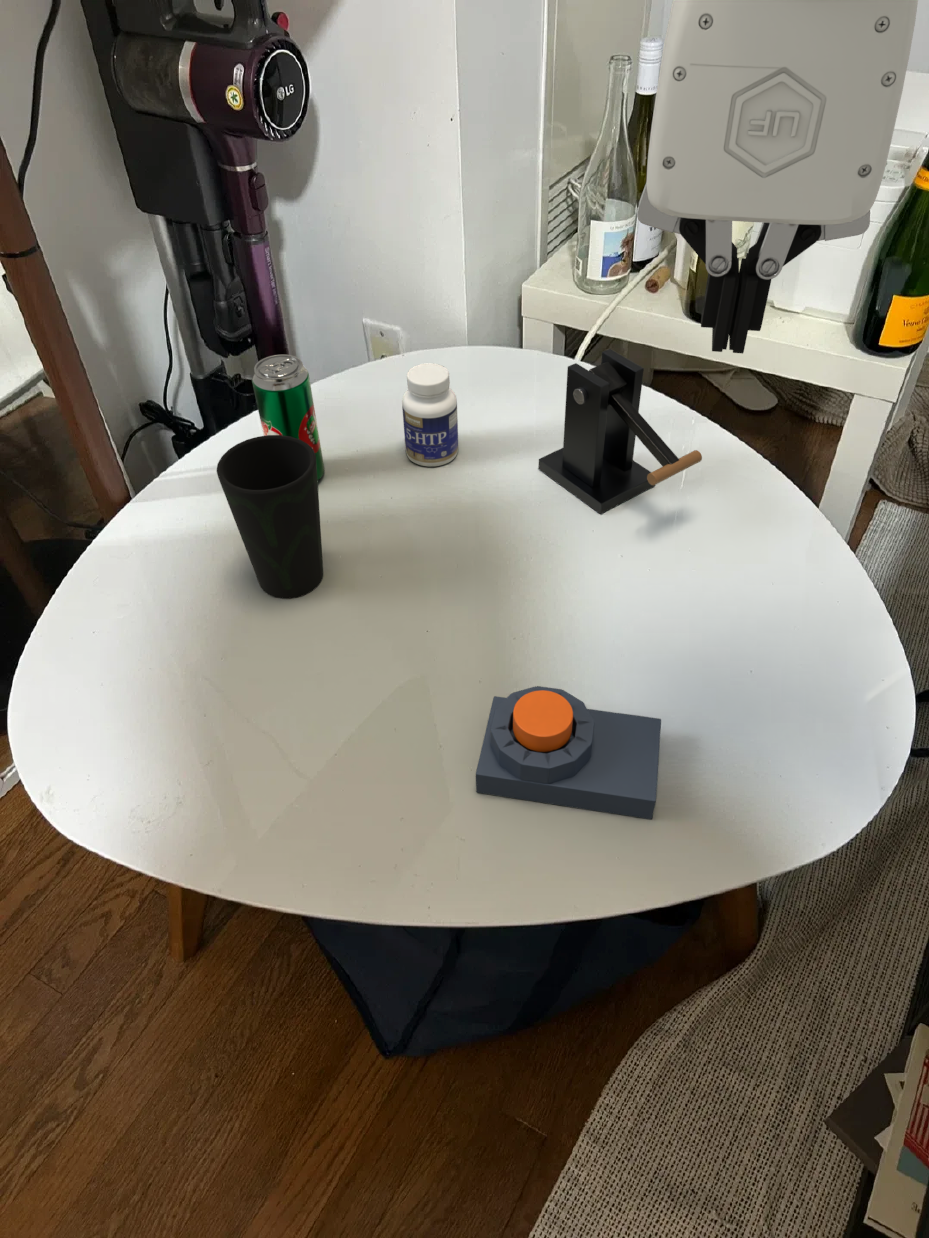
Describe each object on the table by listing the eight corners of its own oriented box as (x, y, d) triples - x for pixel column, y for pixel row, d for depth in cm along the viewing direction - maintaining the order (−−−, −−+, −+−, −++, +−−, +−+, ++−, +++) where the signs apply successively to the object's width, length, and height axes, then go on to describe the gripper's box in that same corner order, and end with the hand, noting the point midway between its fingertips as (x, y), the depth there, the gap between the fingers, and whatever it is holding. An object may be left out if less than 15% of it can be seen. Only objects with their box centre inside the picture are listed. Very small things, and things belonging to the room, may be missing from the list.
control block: (657, 737, 66) (664, 702, 64) (652, 819, 62) (659, 785, 59) (493, 714, 68) (493, 679, 66) (476, 792, 64) (474, 758, 61)
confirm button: (575, 710, 64) (576, 693, 63) (568, 756, 61) (569, 740, 60) (518, 702, 64) (518, 686, 63) (508, 747, 62) (508, 731, 61)
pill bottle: (401, 466, 91) (393, 386, 85) (411, 436, 95) (405, 357, 88) (454, 470, 90) (450, 390, 84) (462, 439, 94) (460, 361, 88)
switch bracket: (655, 486, 87) (671, 375, 79) (600, 514, 85) (610, 402, 76) (592, 443, 93) (600, 335, 84) (538, 469, 90) (541, 359, 82)
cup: (353, 574, 80) (336, 459, 71) (285, 620, 76) (257, 505, 68) (296, 536, 84) (273, 423, 75) (228, 579, 80) (196, 465, 71)
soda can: (264, 474, 91) (239, 364, 82) (308, 455, 93) (289, 346, 84) (289, 499, 88) (266, 387, 79) (334, 478, 90) (317, 368, 81)
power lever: (695, 468, 81) (707, 451, 79) (650, 492, 78) (660, 475, 76) (613, 373, 84) (621, 355, 82) (567, 393, 82) (575, 375, 80)
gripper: (606, -78, 34) (577, 365, 47) (1039, -79, 32) (884, 389, 45) (622, -109, 39) (592, 298, 52) (996, -112, 37) (868, 316, 50)
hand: (727, 339), depth 49 cm, fingers closed
